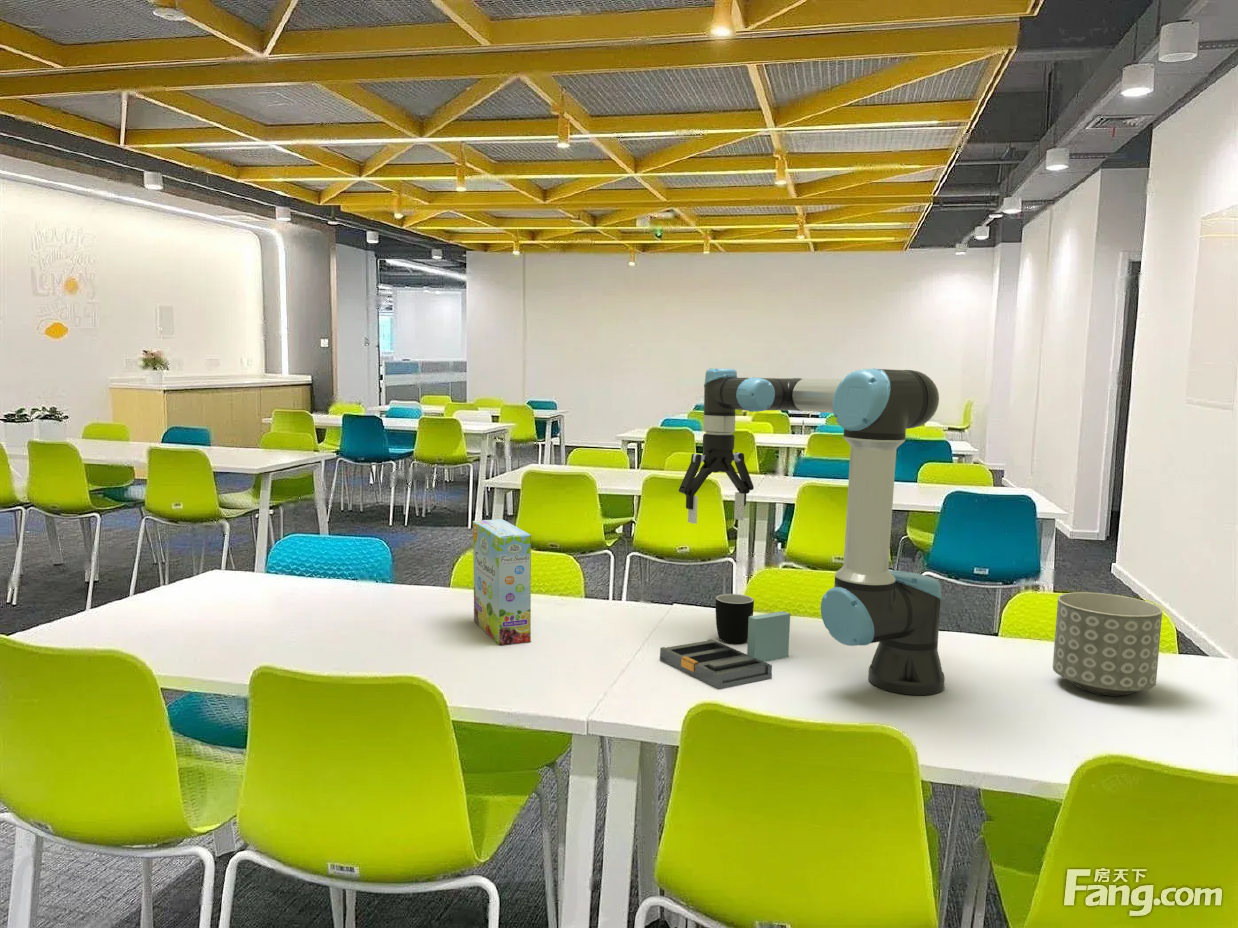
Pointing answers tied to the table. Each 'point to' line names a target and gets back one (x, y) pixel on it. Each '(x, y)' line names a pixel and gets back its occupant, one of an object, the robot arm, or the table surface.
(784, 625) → the block
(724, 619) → the mug
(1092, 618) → the planter
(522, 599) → the snack box
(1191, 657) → the table surface
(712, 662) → the rack
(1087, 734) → the table surface
